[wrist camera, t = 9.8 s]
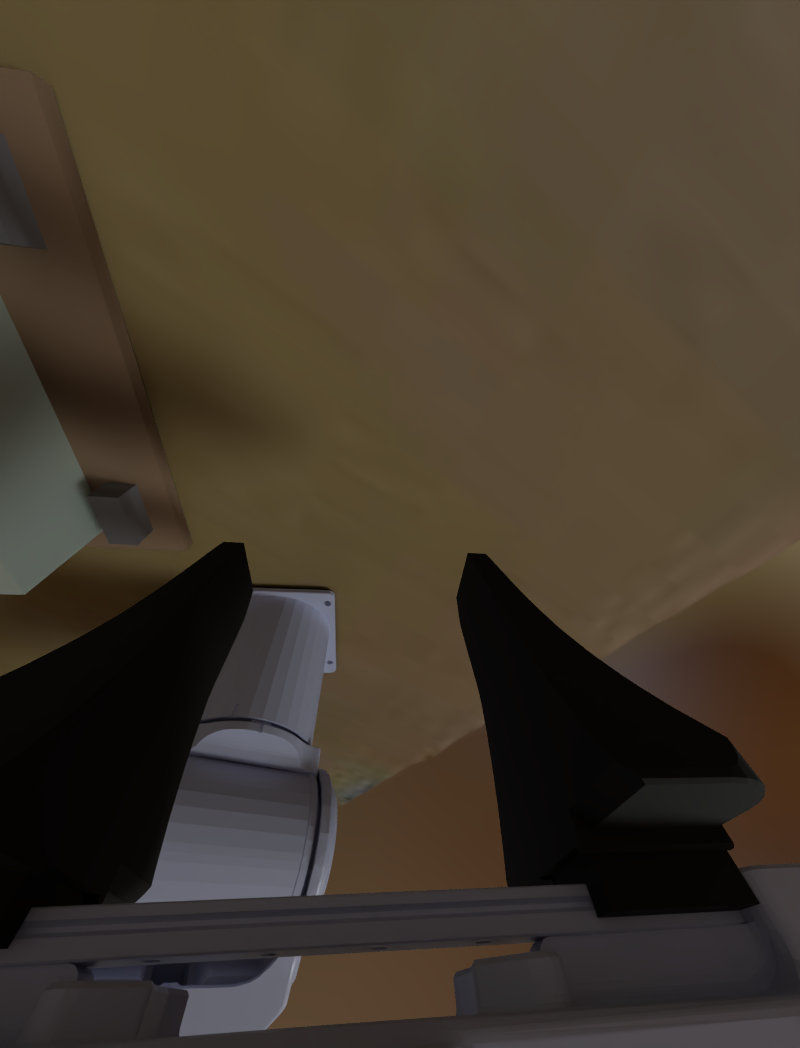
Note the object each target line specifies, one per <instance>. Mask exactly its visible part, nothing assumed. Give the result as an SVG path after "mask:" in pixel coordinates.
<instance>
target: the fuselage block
mask: <svg viewBox="0 0 800 1048" xmlns="http://www.w3.org/2000/svg"><path fill="white" fill-rule="evenodd" d="M91 493H92V491H91V489H90V487H89V485H88V483H87V480H86V478H85V476H84V474H83V472H82V470H81V468H80V465H79V463H78V461H77V459H76V457H75V455H74V452H73V450H72V448H71V446H70V444H69V442H68V440H67V437H66V435H65V433H64V431H63V429H62V427H61V424H60V422H59V420H58V418H57V416H56V414H55V412H54V409H53V407H52V405H51V403H50V401H49V399H48V396H47V394H46V392H45V390H44V388H43V386H42V384H41V381H40V379H39V377H38V375H37V373H36V371H35V368H34V366H33V364H32V362H31V360H30V358H29V356H28V353H27V351H26V349H25V347H24V345H23V343H22V341H21V338H20V336H19V334H18V332H17V330H16V328H15V325H14V323H13V321H12V319H11V317H10V315H9V313H8V310H7V308H6V306H5V304H4V302H3V300H2V297H1V295H0V594H10V595H25V594H26V593H28V592H29V591H30V590H31V589H33V588H34V587H35V586H36V585H37V584H39V583H40V582H41V581H42V580H43V579H45V578H46V577H47V576H48V575H50V574H51V573H52V572H53V571H54V570H56V569H57V568H58V567H59V566H61V565H62V564H63V563H64V562H65V561H67V560H68V559H69V558H70V557H72V556H73V555H74V554H75V553H76V552H78V551H79V550H80V549H81V548H83V547H84V546H85V545H86V544H87V543H89V542H90V541H91V540H92V539H93V538H95V537H96V536H97V535H98V534H100V533H101V532H102V531H103V530H102V528H101V526H100V524H99V522H98V520H97V517H96V515H95V513H94V511H93V509H92V507H91V505H90V503H89V501H88V499H87V495H89V494H91Z"/></svg>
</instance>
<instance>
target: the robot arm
mask: <svg viewBox="0 0 800 1048" xmlns="http://www.w3.org/2000/svg"><path fill="white" fill-rule="evenodd" d="M326 601H329V602H326ZM457 605H458V612H459V619H460V625H461V629H462V633H463V636H464V640H465V644H466V647H467V651H468V654H469V658H470V661H471V665H472V668H473V672H474V676H475V679H476V683H477V686H478V690H479V694H480V699H481V703H482V708H483V714H484V719H485V725H486V730H487V736H488V743H489V749H490V755H491V761H492V767H493V774H494V782H495V788H496V795H497V803H498V810H499V818H500V827H501V835H502V843H503V852H504V860H505V871H506V880H507V885H508V887H497V888H474V889H450V890H429V891H428V890H427V891H404V892H380V893H357V894H333V895H324V892H325V889H326V886H327V882H328V878H329V874H330V869H331V865H332V859H333V853H334V847H335V838H336V828H337V800H336V794H335V790H334V788H333V785H332V783H331V779H330V776H329V774H328V773H327V772H326V771H325V770H322V769H318V764H319V757H320V748H317V747H313V746H312V741H313V735H314V728H315V722H316V716H317V710H318V703H319V697H320V691H321V684H322V678H323V673H332V672H334V671H335V670H336V631H335V595H334V593H333V592H332V591H329V590H307V589H278V588H253V586H252V581H251V576H250V571H249V566H248V562H247V557H246V552H245V547H244V543H235V542H223V543H221V544H220V545H218V546H217V547H216V548H214V549H213V550H212V551H210V552H209V553H207V554H206V555H205V556H203V557H202V558H201V559H199V560H198V561H197V562H195V563H194V564H193V565H191V566H190V567H189V568H187V569H186V570H184V571H183V572H182V573H180V574H179V575H178V576H176V577H175V578H173V579H172V580H171V581H169V582H168V583H166V584H165V585H164V586H162V587H161V588H159V589H158V590H156V591H155V592H153V593H152V594H150V595H149V596H147V597H146V598H144V599H143V600H141V601H140V602H138V603H137V604H135V605H134V606H132V607H131V608H129V609H127V610H126V611H124V612H123V613H121V614H119V615H118V616H116V617H114V618H113V619H111V620H109V621H108V622H106V623H104V624H102V625H101V626H99V627H97V628H95V629H94V630H92V631H90V632H88V633H87V634H85V635H83V636H81V637H79V638H77V639H75V640H74V641H72V642H70V643H68V644H66V645H64V646H62V647H60V648H58V649H56V650H54V651H52V652H50V653H48V654H46V655H44V656H42V657H40V658H38V659H36V660H34V661H32V662H30V663H28V664H26V665H24V666H22V667H20V668H18V669H16V670H14V671H11V672H9V673H7V674H5V675H3V676H1V677H0V1048H800V863H798V864H797V863H796V864H771V865H755V866H748V867H742V868H739V869H738V867H737V866H736V864H735V863H734V861H733V859H732V858H731V856H730V855H729V853H728V851H727V850H731V849H733V848H734V844H733V841H732V840H731V838H730V837H729V835H728V834H727V832H726V831H725V829H724V828H723V826H722V824H724V823H725V822H727V821H729V820H731V819H732V818H735V817H736V816H738V815H740V814H742V813H743V812H745V811H747V810H749V809H750V808H752V807H753V806H755V805H757V804H758V803H759V802H760V801H761V800H762V799H763V798H764V795H765V785H764V784H763V782H762V781H761V780H760V779H759V777H758V776H757V775H756V774H755V772H754V771H753V770H752V768H751V767H750V766H749V765H748V763H747V762H746V761H745V760H744V759H743V757H742V756H741V755H740V753H739V752H738V751H737V750H736V748H735V747H734V746H733V744H732V743H731V742H730V741H729V740H728V738H727V737H725V736H723V735H721V734H720V733H718V732H716V731H714V730H713V729H711V728H709V727H707V726H705V725H704V724H702V723H700V722H698V721H696V720H695V719H693V718H691V717H689V716H687V715H686V714H684V713H682V712H680V711H678V710H677V709H675V708H673V707H671V706H670V705H668V704H666V703H665V702H663V701H662V700H660V699H658V698H657V697H655V696H653V695H652V694H650V693H649V692H647V691H645V690H644V689H642V688H640V687H639V686H637V685H636V684H634V683H633V682H631V681H630V680H628V679H627V678H625V677H624V676H622V675H620V674H619V673H618V672H617V671H615V670H614V669H612V668H611V667H609V666H608V665H607V664H605V663H604V662H602V661H601V660H600V659H598V658H597V657H595V656H594V655H593V654H591V653H590V652H589V651H587V650H586V649H585V648H583V647H582V646H581V645H580V644H579V643H577V642H576V641H575V640H574V639H572V638H571V637H570V636H569V635H567V634H566V633H565V632H564V631H562V630H561V629H560V628H559V627H558V626H557V625H556V624H554V623H553V622H552V621H551V620H550V619H549V618H548V617H547V616H546V615H545V614H543V613H542V612H541V611H540V610H539V609H538V608H537V607H536V606H535V605H534V604H533V603H532V602H531V601H530V600H529V599H528V598H527V597H526V596H525V595H524V594H523V593H522V592H521V591H520V590H519V589H518V588H517V587H516V586H515V585H514V584H513V583H512V582H511V581H510V579H509V578H508V577H507V576H506V575H505V574H504V573H503V572H502V571H501V570H500V569H499V568H498V566H497V565H496V564H495V563H494V562H493V561H492V560H491V559H490V558H489V557H488V556H487V555H486V554H476V553H468V554H467V558H466V562H465V566H464V570H463V574H462V578H461V582H460V586H459V589H458V593H457ZM535 942H536V943H535ZM518 943H534V944H533V945H532V947H531V949H530V952H527V953H520V954H513V955H506V956H498V957H491V958H484V959H477V960H474V962H473V964H472V966H471V967H470V968H467V969H464V970H461V971H457V972H456V973H455V975H454V978H453V979H454V988H455V998H456V1007H457V1013H456V1016H446V1017H432V1018H418V1019H404V1020H390V1021H375V1022H361V1023H347V1024H334V1025H321V1026H307V1027H295V1028H282V1029H269V1030H266V1029H267V1028H268V1027H269V1026H270V1025H271V1024H272V1022H273V1021H274V1020H275V1019H276V1018H277V1017H278V1016H279V1015H280V1013H281V1012H282V1011H283V1009H284V1008H285V1006H286V1005H287V1001H288V997H289V993H290V988H291V985H292V983H293V982H294V980H295V978H296V974H297V970H298V966H299V963H300V959H301V956H310V955H328V954H345V953H362V952H380V951H396V950H412V949H413V950H414V949H431V948H448V947H465V946H482V945H499V944H518Z"/></svg>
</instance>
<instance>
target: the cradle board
mask: <svg viewBox="0 0 800 1048" xmlns="http://www.w3.org/2000/svg"><path fill="white" fill-rule="evenodd" d="M0 295H1V297H2V300H3V302H4V304H5V306H6V308H7V310H8V313H9V315H10V317H11V319H12V321H13V323H14V325H15V328H16V330H17V332H18V334H19V336H20V338H21V341H22V343H23V345H24V347H25V349H26V351H27V353H28V356H29V358H30V360H31V362H32V364H33V366H34V368H35V371H36V373H37V375H38V377H39V379H40V381H41V384H42V386H43V388H44V390H45V392H46V394H47V396H48V399H49V401H50V403H51V405H52V407H53V409H54V412H55V414H56V416H57V418H58V420H59V422H60V424H61V427H62V429H63V431H64V433H65V435H66V437H67V440H68V442H69V444H70V446H71V448H72V450H73V452H74V455H75V457H76V459H77V461H78V463H79V465H80V468H81V470H82V472H83V474H84V476H85V478H86V480H87V483H88V485H89V487H90V489H91V491H92V493H91V494H89V495H87V499H88V501H89V503H90V505H91V507H92V509H93V511H94V513H95V515H96V517H97V520H98V522H99V524H100V526H101V528H102V530H103V531H102V532H101V533H100V534H98V535H97V536H96V537H95V538H93V539H92V540H91V541H90V542H89V543H87V544H86V545H85V546H84V547H106V548H129V549H153V550H176V551H187V549H188V548H189V547H190V546H191V544H192V540H191V537H190V534H189V531H188V527H187V524H186V521H185V518H184V514H183V511H182V508H181V505H180V501H179V498H178V495H177V492H176V488H175V485H174V482H173V479H172V475H171V472H170V469H169V466H168V462H167V459H166V456H165V453H164V449H163V446H162V443H161V440H160V436H159V433H158V430H157V427H156V423H155V420H154V417H153V414H152V410H151V407H150V404H149V401H148V398H147V394H146V391H145V388H144V385H143V381H142V378H141V375H140V372H139V368H138V365H137V362H136V359H135V355H134V352H133V349H132V346H131V342H130V339H129V336H128V333H127V329H126V326H125V323H124V320H123V316H122V313H121V310H120V307H119V303H118V300H117V297H116V294H115V290H114V287H113V284H112V281H111V277H110V274H109V271H108V268H107V264H106V261H105V258H104V255H103V251H102V248H101V245H100V242H99V238H98V235H97V232H96V229H95V225H94V222H93V219H92V216H91V212H90V209H89V206H88V203H87V199H86V196H85V193H84V190H83V186H82V183H81V180H80V177H79V173H78V170H77V167H76V164H75V160H74V157H73V154H72V151H71V147H70V144H69V141H68V138H67V134H66V131H65V128H64V125H63V121H62V118H61V115H60V112H59V109H58V105H57V102H56V99H55V96H54V92H53V89H52V86H51V85H50V84H48V83H47V82H45V81H44V80H42V79H41V78H39V77H38V76H36V75H35V74H33V73H32V72H29V71H23V70H16V69H10V68H3V67H0Z"/></svg>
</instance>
